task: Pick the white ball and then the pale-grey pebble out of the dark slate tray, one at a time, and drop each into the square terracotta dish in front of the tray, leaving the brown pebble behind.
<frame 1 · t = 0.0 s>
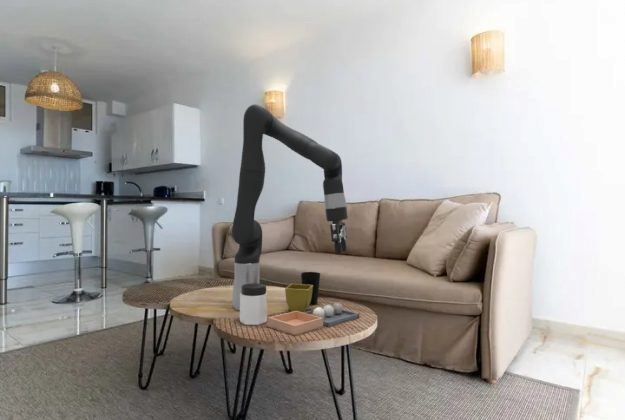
hand: (341, 252, 139), 22 cm above the table, tool pointing down, fingers open, 8 cm apart
tray: (328, 318, 137), on the table
dish: (295, 327, 126), on the table
pebble b: (328, 316, 137), resting on tray
cup: (310, 304, 158), on the table
pebble c: (337, 314, 140), resting on tray
white ball: (318, 319, 133), resting on tray
flower pot: (299, 311, 146), on the table
jar: (253, 322, 131), on the table
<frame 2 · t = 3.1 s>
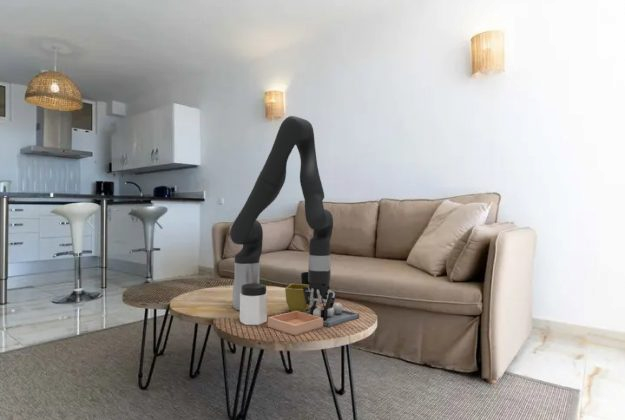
hand: (318, 318, 133), 1 cm above the table, tool pointing down, fingers closed on white ball, 4 cm apart
white ball: (318, 319, 133), resting on tray, touching gripper
everything else where it was.
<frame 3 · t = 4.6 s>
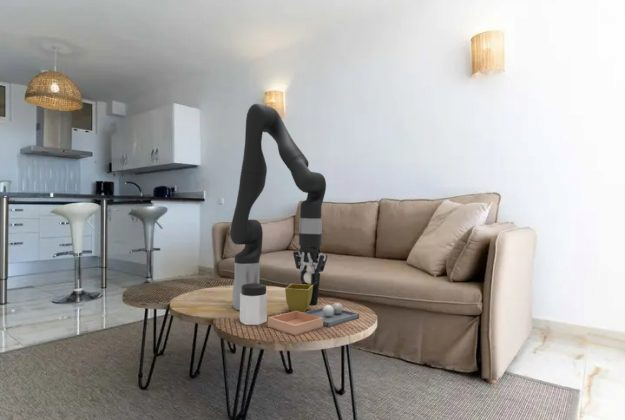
hand: (309, 283, 132), 13 cm above the table, tool pointing down, fingers closed on white ball, 4 cm apart
white ball: (309, 283, 132), point 13 cm above the table, touching gripper
everything else where it was.
when the fingers open (3 cm above the table, at t = 6.2 s): white ball drops 3 cm, resting on dish.
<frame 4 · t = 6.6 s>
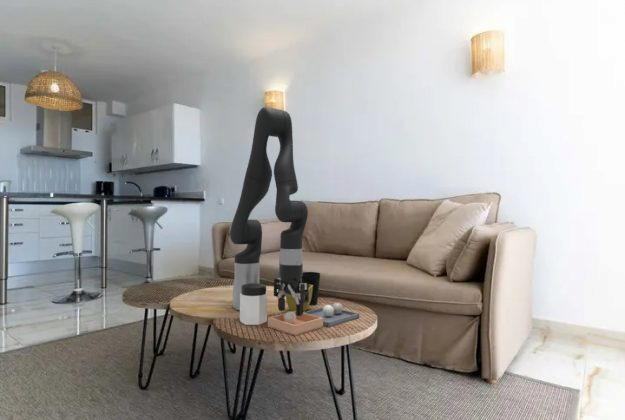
hand: (290, 312, 128), 4 cm above the table, tool pointing down, fingers open, 8 cm apart
white ball: (289, 323, 128), resting on dish
everything else where it was.
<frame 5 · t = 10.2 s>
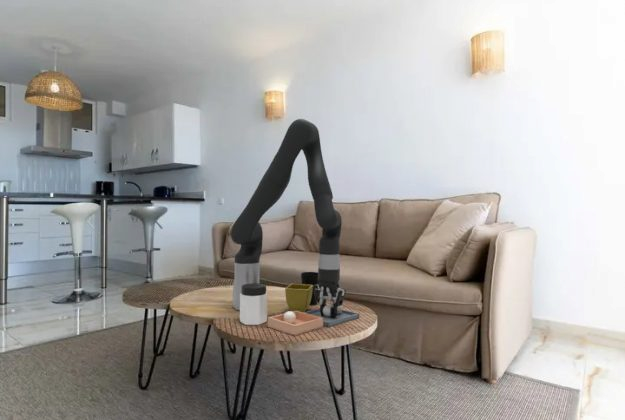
hand: (328, 316, 137), 1 cm above the table, tool pointing down, fingers closed on pebble b, 4 cm apart
pebble b: (328, 316, 137), resting on tray, touching gripper
white ball: (289, 323, 128), point 1 cm above the table, tilted 9°, touching dish
everything else where it was.
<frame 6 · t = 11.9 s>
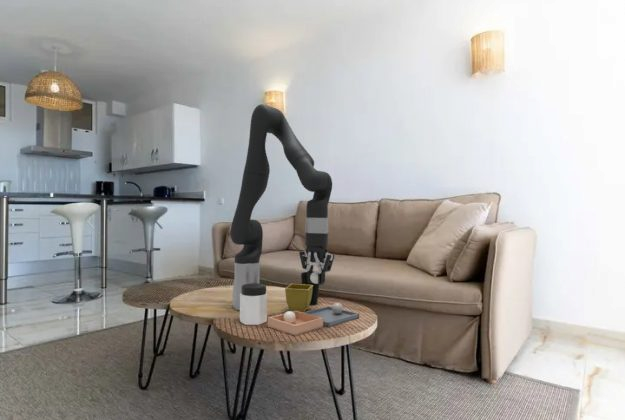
hand: (315, 283, 130), 13 cm above the table, tool pointing down, fingers closed on pebble b, 4 cm apart
pebble b: (315, 283, 131), point 13 cm above the table, touching gripper
everything else where it was.
when the fingers open (3 cm above the table, at t = 13.5 s): pebble b drops 3 cm, resting on dish.
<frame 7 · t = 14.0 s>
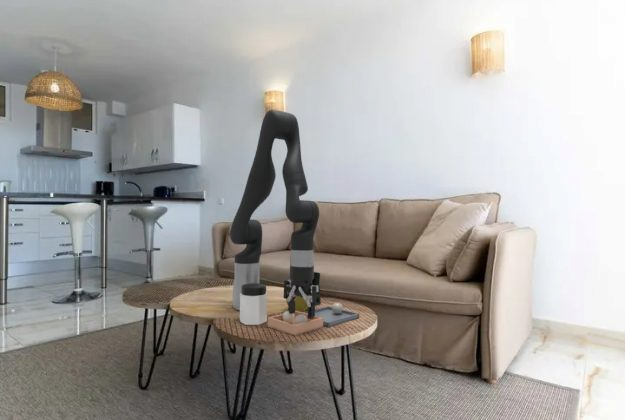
hand: (301, 315, 124), 4 cm above the table, tool pointing down, fingers open, 8 cm apart
pebble b: (300, 327, 124), resting on dish
white ball: (289, 323, 128), point 1 cm above the table, tilted 27°, touching dish
everything else where it was.
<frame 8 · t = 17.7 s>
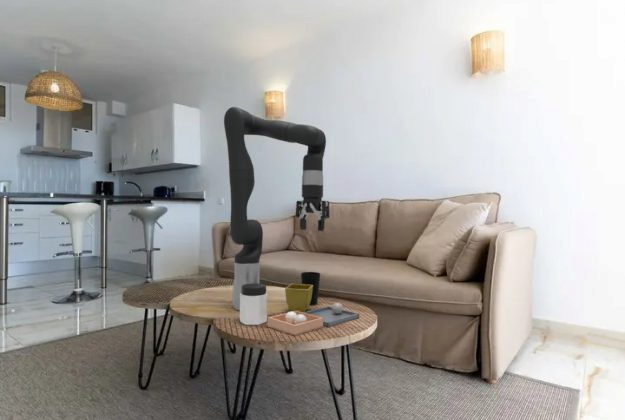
hand: (311, 230, 139), 30 cm above the table, tool pointing down, fingers open, 8 cm apart
pebble b: (300, 327, 124), point 1 cm above the table, tilted 6°, touching dish
white ball: (290, 323, 128), point 1 cm above the table, tilted 12°, touching dish
everything else where it was.
at the end: white ball inside the target area on the dish (2.6 cm from its centre), point 0.5 cm above the dish's base; pebble b inside the target area on the dish (2.4 cm from its centre), point 0.5 cm above the dish's base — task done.
